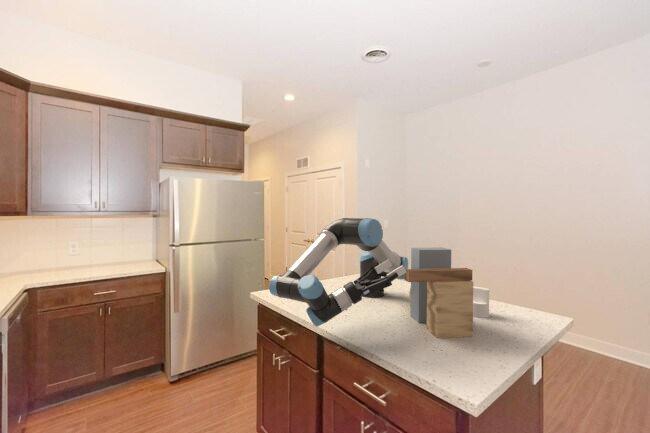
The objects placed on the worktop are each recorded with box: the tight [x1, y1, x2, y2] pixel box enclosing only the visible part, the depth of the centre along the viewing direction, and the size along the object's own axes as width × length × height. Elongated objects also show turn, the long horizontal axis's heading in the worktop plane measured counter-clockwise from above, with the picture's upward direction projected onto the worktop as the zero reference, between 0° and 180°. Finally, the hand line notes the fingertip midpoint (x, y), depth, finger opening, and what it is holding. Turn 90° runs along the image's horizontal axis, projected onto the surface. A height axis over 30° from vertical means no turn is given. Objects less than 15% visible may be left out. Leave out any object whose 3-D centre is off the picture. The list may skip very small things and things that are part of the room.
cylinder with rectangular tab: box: [473, 285, 490, 319], centre depth 135 cm, size 9×9×12 cm
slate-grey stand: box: [410, 247, 452, 324], centre depth 129 cm, size 8×14×30 cm, turn 98°
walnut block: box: [403, 267, 473, 283], centre depth 114 cm, size 4×25×4 cm, turn 98°
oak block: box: [426, 280, 474, 339], centre depth 114 cm, size 8×14×20 cm, turn 98°
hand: (397, 265), depth 111 cm, fingers open, 13 cm apart
